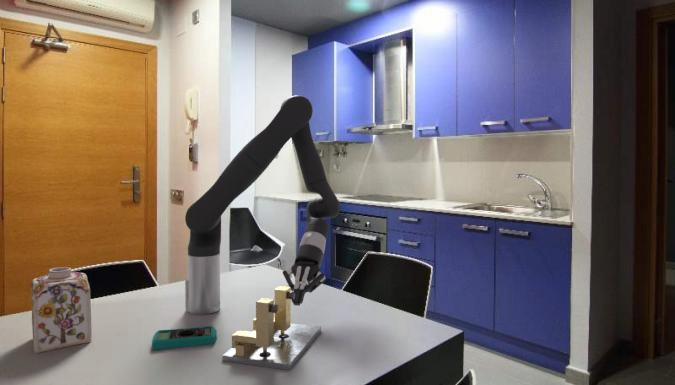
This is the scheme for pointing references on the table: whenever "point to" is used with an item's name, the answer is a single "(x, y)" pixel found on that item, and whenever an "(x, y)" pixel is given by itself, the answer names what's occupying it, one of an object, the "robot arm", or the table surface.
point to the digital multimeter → (184, 337)
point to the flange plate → (279, 348)
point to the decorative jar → (60, 310)
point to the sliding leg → (282, 309)
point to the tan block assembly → (257, 330)
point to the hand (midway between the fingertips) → (296, 304)
